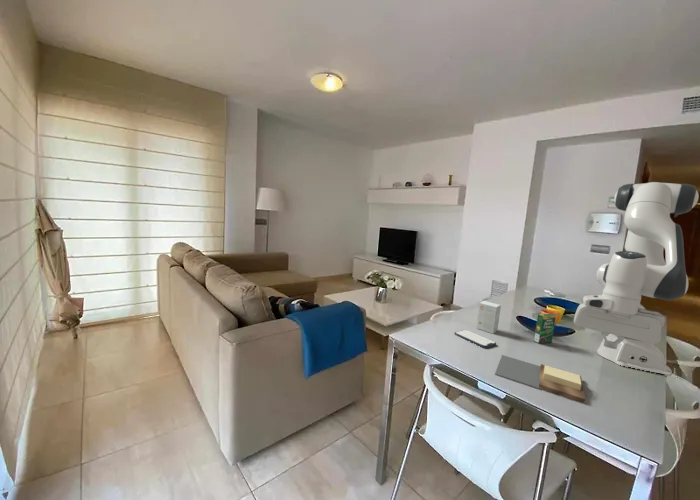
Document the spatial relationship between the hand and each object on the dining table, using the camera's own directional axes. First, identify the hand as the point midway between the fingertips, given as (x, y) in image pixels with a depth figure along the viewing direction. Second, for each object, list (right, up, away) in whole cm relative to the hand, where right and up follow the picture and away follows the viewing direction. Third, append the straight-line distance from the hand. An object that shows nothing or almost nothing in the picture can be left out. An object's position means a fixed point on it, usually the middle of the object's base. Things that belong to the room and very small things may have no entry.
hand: (609, 347), depth 95 cm
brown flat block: (-10, -15, +8) cm, 20 cm away
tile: (-10, -13, +8) cm, 18 cm away
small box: (-15, -9, +53) cm, 55 cm away
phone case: (-26, -10, +40) cm, 49 cm away
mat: (-20, -13, +15) cm, 28 cm away
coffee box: (+6, -12, +43) cm, 45 cm away
